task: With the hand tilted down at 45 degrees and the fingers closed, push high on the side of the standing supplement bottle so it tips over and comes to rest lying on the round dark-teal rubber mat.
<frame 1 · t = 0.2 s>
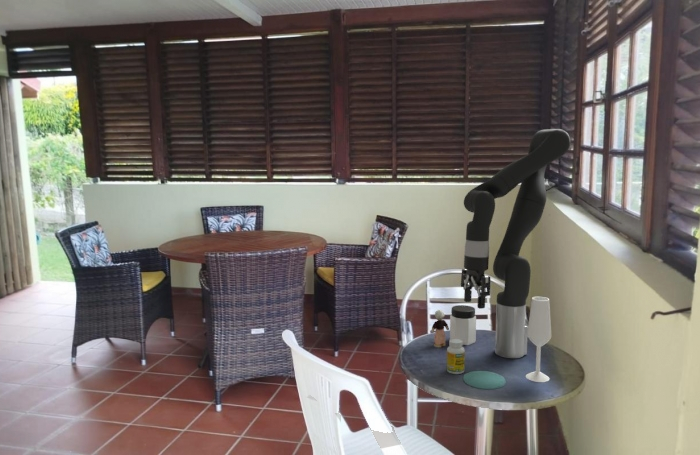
hand: (474, 304, 173), 18 cm above the table, tool pointing down, fingers open, 8 cm apart
grandmother figurine: (439, 346, 188), on the table
mat: (484, 380, 160), on the table
jar: (462, 341, 193), on the table
supplement bottle: (455, 371, 167), on the table
champagne flute: (537, 378, 161), on the table
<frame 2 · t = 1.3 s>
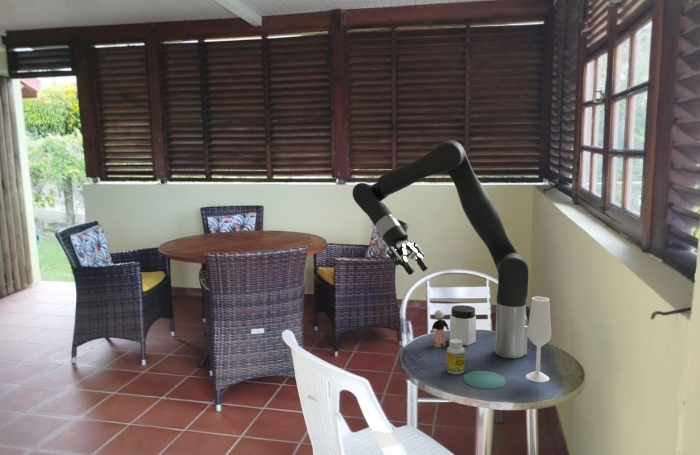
hand: (418, 271, 174), 29 cm above the table, tool tilted 45°, fingers open, 6 cm apart
nothing on the table moved.
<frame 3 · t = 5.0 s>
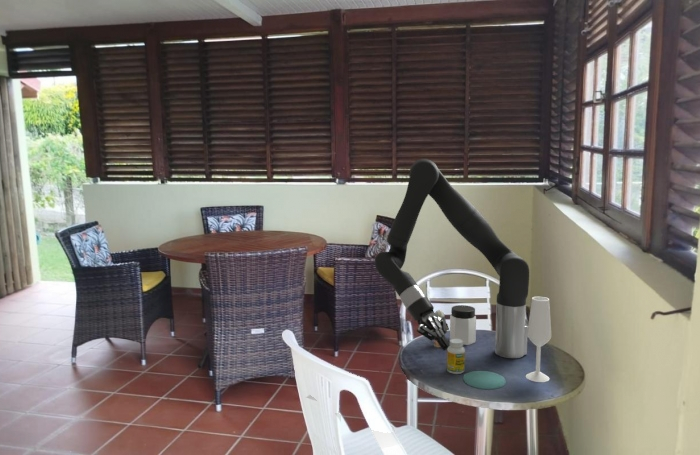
hand: (447, 348, 168), 6 cm above the table, tool tilted 45°, fingers closed
supplement bottle: (455, 371, 167), on the table, touching gripper
everything else where it was.
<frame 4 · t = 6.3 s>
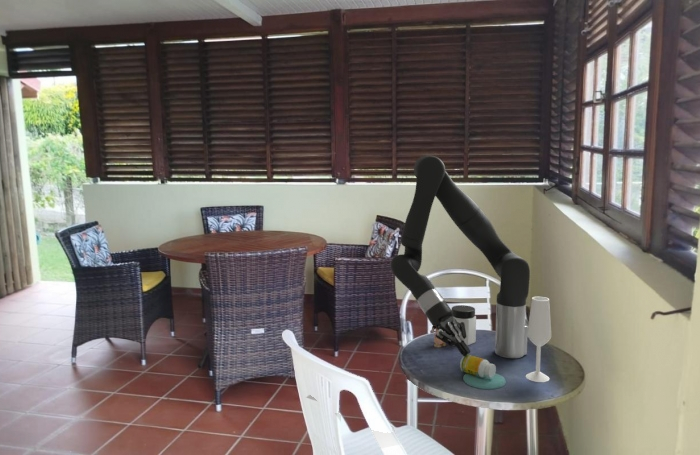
hand: (467, 354, 163), 6 cm above the table, tool tilted 45°, fingers closed
supplement bottle: (463, 362, 165), point 3 cm above the table, touching mat
everything else where it was.
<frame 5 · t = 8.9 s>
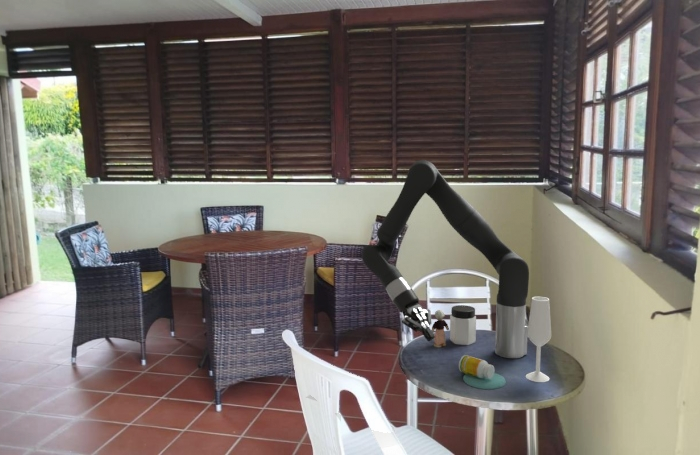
hand: (431, 339, 172), 8 cm above the table, tool tilted 45°, fingers closed
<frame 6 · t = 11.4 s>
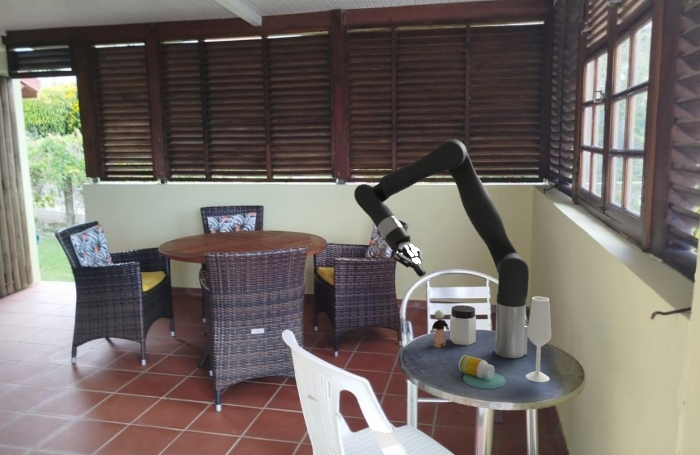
hand: (423, 275, 172), 28 cm above the table, tool tilted 45°, fingers closed
nothing on the table moved.
at the end: supplement bottle tilted 90°; supplement bottle 7.7 cm from the mat (horizontally); the gripper is holding nothing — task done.
